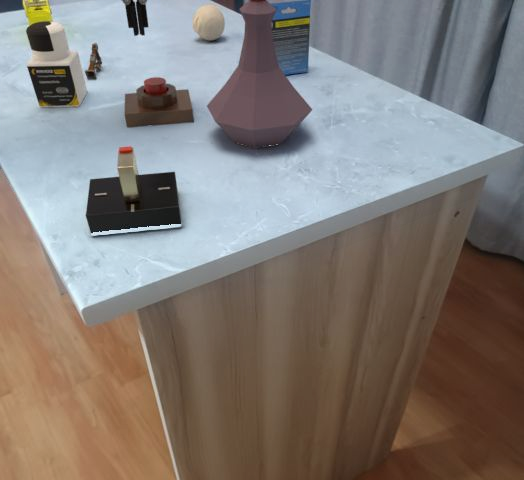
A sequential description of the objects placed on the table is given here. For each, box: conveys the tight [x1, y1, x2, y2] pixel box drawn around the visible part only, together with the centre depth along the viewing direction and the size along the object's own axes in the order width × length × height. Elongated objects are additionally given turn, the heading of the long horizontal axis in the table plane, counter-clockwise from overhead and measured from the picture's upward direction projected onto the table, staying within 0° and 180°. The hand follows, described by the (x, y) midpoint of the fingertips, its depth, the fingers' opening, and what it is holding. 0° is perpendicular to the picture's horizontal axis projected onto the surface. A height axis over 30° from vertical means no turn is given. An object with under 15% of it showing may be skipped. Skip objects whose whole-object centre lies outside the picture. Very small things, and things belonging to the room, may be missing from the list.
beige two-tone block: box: [116, 146, 140, 203], centre depth 63 cm, size 5×2×5 cm, turn 9°
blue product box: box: [270, 0, 312, 76], centre depth 98 cm, size 9×4×12 cm, turn 110°
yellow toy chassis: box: [21, 0, 54, 27], centre depth 119 cm, size 16×6×8 cm, turn 19°
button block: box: [124, 83, 195, 128], centre depth 87 cm, size 11×9×4 cm
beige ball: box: [191, 4, 226, 41], centre depth 115 cm, size 7×7×7 cm
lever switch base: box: [85, 171, 182, 234], centre depth 65 cm, size 11×9×3 cm
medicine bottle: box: [25, 21, 88, 109], centre depth 89 cm, size 7×7×12 cm
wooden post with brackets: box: [84, 42, 103, 80], centre depth 102 cm, size 2×8×4 cm, turn 179°
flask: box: [206, 0, 313, 149], centre depth 75 cm, size 16×16×20 cm
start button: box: [143, 76, 167, 95], centre depth 85 cm, size 4×4×2 cm
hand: (139, 32), depth 79 cm, fingers closed
